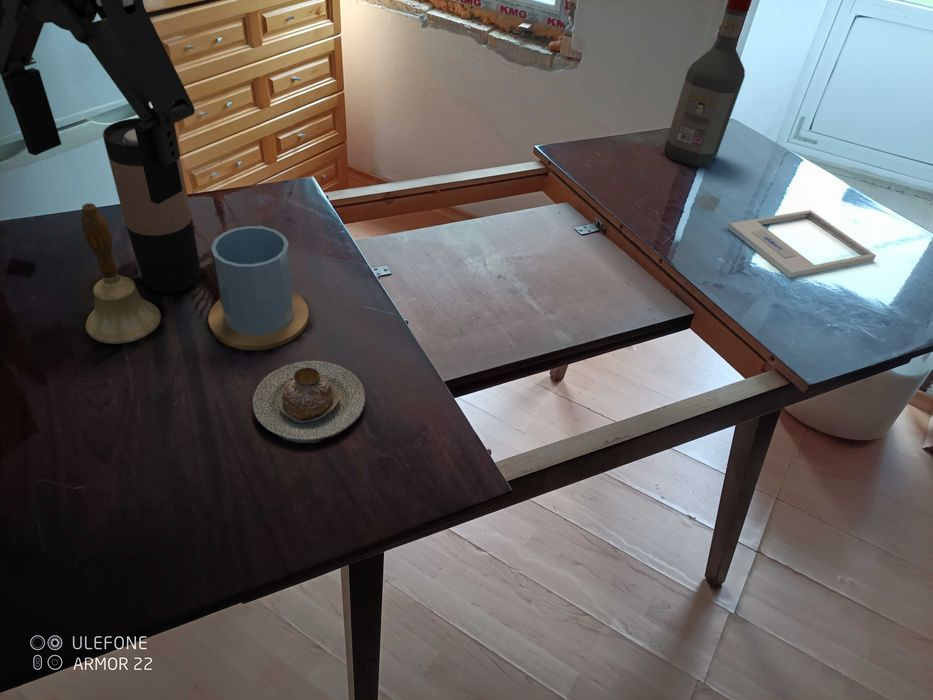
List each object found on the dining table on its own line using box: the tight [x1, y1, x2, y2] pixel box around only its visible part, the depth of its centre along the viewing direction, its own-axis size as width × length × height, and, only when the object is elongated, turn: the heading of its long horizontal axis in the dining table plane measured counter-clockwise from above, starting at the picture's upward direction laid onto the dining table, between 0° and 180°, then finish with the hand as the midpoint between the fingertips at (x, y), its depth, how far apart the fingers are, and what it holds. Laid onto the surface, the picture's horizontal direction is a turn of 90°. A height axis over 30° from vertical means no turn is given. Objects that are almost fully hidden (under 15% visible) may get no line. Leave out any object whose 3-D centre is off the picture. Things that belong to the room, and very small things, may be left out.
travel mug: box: [102, 117, 201, 293], centre depth 84 cm, size 8×8×20 cm
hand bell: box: [81, 202, 162, 345], centre depth 77 cm, size 8×8×16 cm
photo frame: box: [727, 209, 877, 279], centre depth 111 cm, size 15×1×18 cm
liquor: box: [663, 0, 753, 168], centre depth 125 cm, size 9×9×30 cm
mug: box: [210, 224, 294, 335], centre depth 83 cm, size 11×8×10 cm
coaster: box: [207, 291, 310, 351], centre depth 85 cm, size 12×12×1 cm
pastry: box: [252, 360, 366, 444], centre depth 74 cm, size 12×12×5 cm
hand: (104, 172), depth 58 cm, fingers open, 13 cm apart
